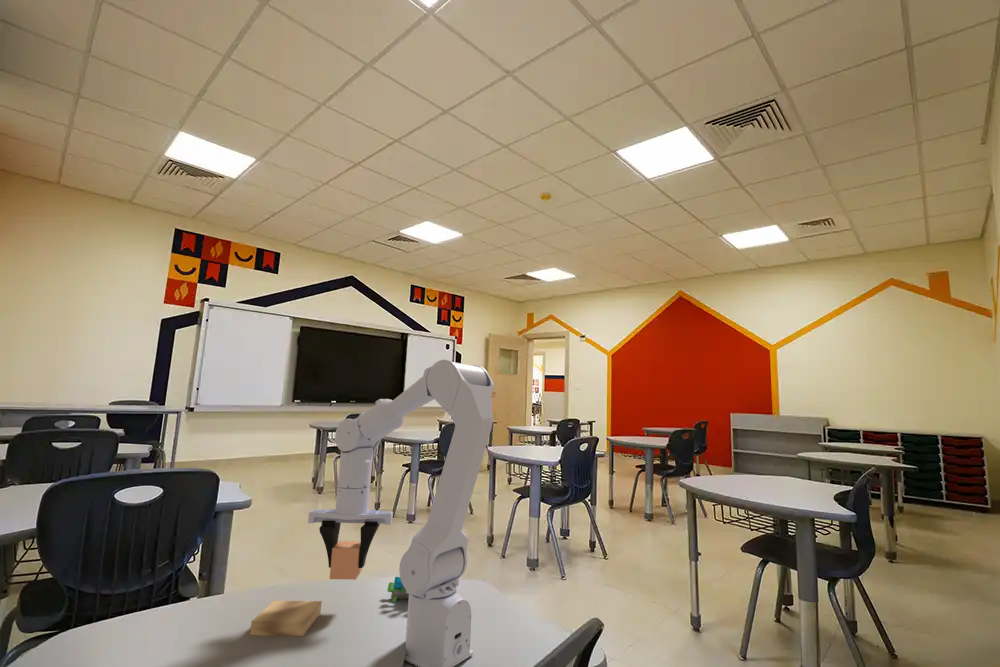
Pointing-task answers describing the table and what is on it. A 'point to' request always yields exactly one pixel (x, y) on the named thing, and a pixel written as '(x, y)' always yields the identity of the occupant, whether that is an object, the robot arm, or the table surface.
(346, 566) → the block
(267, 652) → the table surface
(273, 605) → the tower top
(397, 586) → the gear
